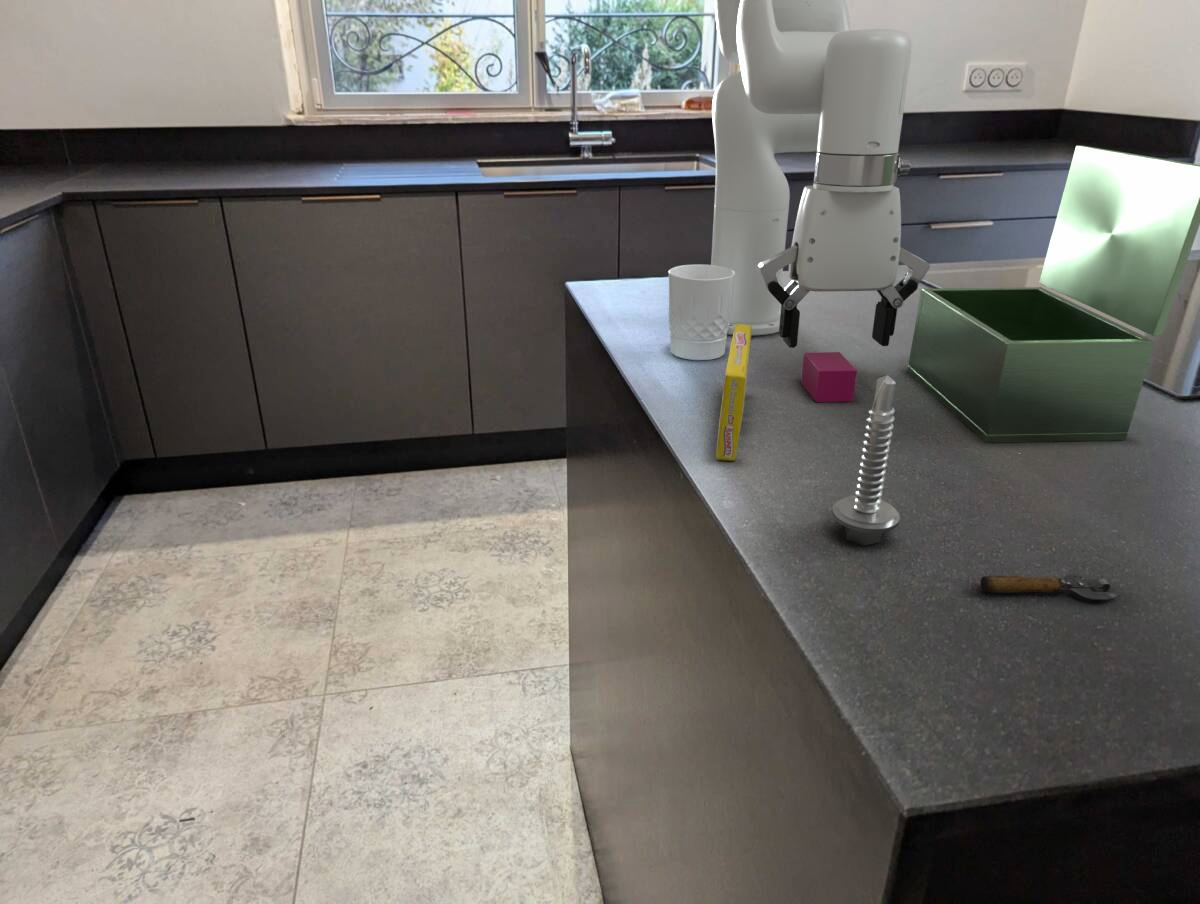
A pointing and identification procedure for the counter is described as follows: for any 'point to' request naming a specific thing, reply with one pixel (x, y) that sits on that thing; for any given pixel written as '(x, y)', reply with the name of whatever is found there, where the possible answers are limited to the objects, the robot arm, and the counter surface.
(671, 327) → the white cup
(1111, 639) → the counter surface
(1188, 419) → the counter surface
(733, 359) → the candy box
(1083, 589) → the can opener
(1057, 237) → the bin lid
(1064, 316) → the bin
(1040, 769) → the counter surface
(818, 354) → the block
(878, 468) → the screw
